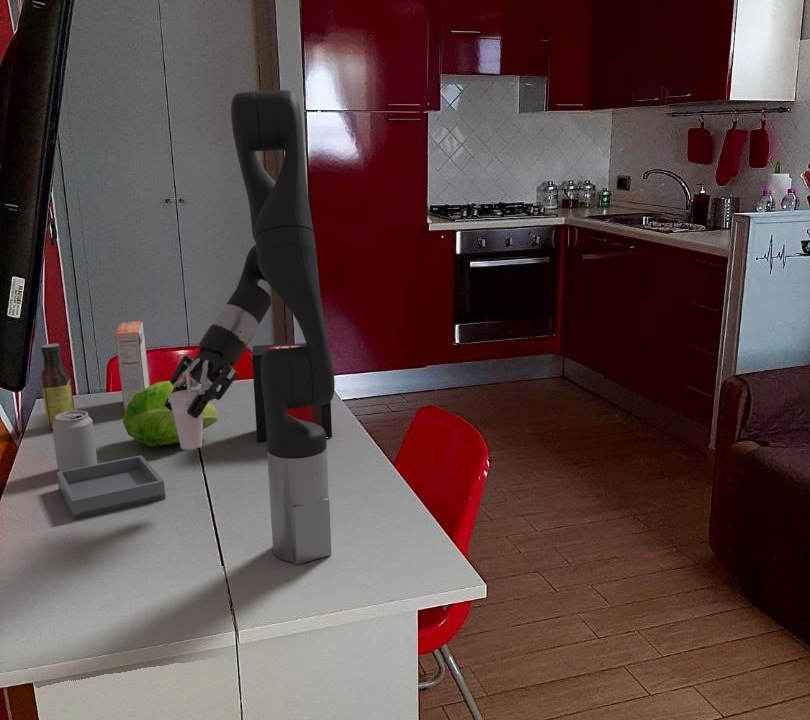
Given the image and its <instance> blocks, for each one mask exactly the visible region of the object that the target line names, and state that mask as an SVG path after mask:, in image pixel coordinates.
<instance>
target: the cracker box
mask: <svg viewBox="0 0 810 720" xmlns="http://www.w3.org/2000/svg"><path fill="white" fill-rule="evenodd" d="M116 330H117V331H116V333H115V335H114V337H115V344H116V351H117V352H116V353H117V354H116V355H117V361H118V368H119V378H120V387H121V395H122V403H123V410H124V411H123V412H124V413H123V414H125V411H126V407H127V405H128V404H129V403H130V401H131V400H132V398H133V397H134V396H135V394H136V393H137V392H139V391H141V390H143V389H145V388H147V387H149V386H151V385H150V378H149V369H148V368H149V367H148V358H147V350H146V340H145V331H144V322H143V321H140V320H139V321H126V322H125V321H123V322H121V323H119V326H118V327H117V329H116Z"/></svg>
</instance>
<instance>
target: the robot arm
mask: <svg viewBox="0 0 810 720" xmlns="http://www.w3.org/2000/svg"><path fill="white" fill-rule="evenodd" d="M230 117H231V127H232V129H231V130H232V132H233V133H232V134H233V139H234V144H235V150H236V153H237V154H236V155H237V159H238V162H239V168H240V171H241V172H240V173H241V176H242V179H243V183H244V187H245V191H246V194H247V199H248V204H249V212H250V221H251V230H252V231H251V232H252V238H253V240H254V242H255V245H253V246H252V247H251V248H250V249H249V251H248V252H247V255H246V258H245V262H244V266H243V270H242V272H241V275H240V277H239V281H238V283H237V287H236V289H235V290H234V292H233V293H232V294H231V296H230V298H229V299H228V301H227V303H226V304H225V305H224V307H223V308H222V309H221V310H220V311H219V313H218V314H217V315H216V317H215V318H214V319H213V321H212V322H211V324H210V326H209V328H208V329H207V330H206V332H205V334H204V335H203V337H202V338H201V340H200V341H199V343H198V347H199V353H198V354H197V355H196V356H195V357H194V358H190V356H188V355H187V354H185V355H183V357H182V358H181V360H180V362H179V363H178V365H177V367H176V369H175V370H174V372H173V374H172V376H171V378H170V379H169V381H170V383H172V384H173V386H174V389H173V391H172V392H171V393H173V392H177V391H181V390H188V389H187V378H186V370H189V375H190V386H191V389H193V388H197V387H198V386H199V385H200V389H199V390H200V395H197V396H196V398H195V399H194V401H193V402H192V404H191V406H190V407H189V409H188V410H187V413H188V414H189V415H190V416H192V417H193V418H198V417H199V415H200V414H201V413H202V411H203V410H204V408H205V407H206V405H207V403H208V402H209V403H210V402H212V401H213V400H217V401H219V400H221V399H222V398H223V396H224V395H225V393H226V392H227V391H228V390H229V388H230V387H231V386H232V383H234V381H235V380H236V379H237V376H238V375H239V372H237V371H236V370H235V369H234V368H233V367H235V366H236V364H237V363H238V361H239V359H240V358H241V356H242V355H243V353H244V351H245V350H246V349H247V347H248V345H249V343H250V342H251V340H252V339H253V337H254V335H255V333H256V331H257V328H258V327H259V325H260V324H261V322H262V320H263V319H264V317H265V316H266V314H267V313H268V311H269V309H270V307H271V305H272V297H271V295H270V294H269V293H268V292H267V291H266V290H265V289H263V288H262V287H261V286H260V285H258V284H259V282H260V280H262V281H265V282H267V284H268V285H269V286H270V287H271V289H272V290H273V291H274V292H275V294H276V295H277V296H278V297H279V298H280V299H281V300H282V302H283V303H284V304H285V305H286V306H287V308H288V310H290V312H291V313H292V315H293V317H294V318H295V320H296V322H297V323H298V325H299V328H300V330H301V332H302V335H303V337H304V341H305V343H306V346H303V347H290V348H278V349H270V350H267V351H265V352H264V354H263V356H262V359H261V383H262V391H263V399H264V408H265V419H266V435H267V442H266V453H267V467H268V469H267V470H268V472H267V473H268V485H269V486H268V487H269V503H270V504H269V506H270V522H271V523H270V524H271V537H272V552H273V554H274V555H275V557H276V558H279V560H282V561H287V562H291V563H293V564H295V565H297V566H298V565H301V564H304V563H307V562H310V561H314V560H318V559H321V558H325V557H329V556H331V555H332V532H331V510H330V509H331V508H330V497H329V495H330V493H329V476H328V475H329V473H328V470H329V469H328V447H327V445H328V444H327V439H328V438H326V433H325V430H324V429H323V428H322V427H321V426H319V425H317V424H314V423H311V422H307V421H303V420H299V419H296V418H294V417H292V416H290V415H288V414H287V413H286V410H287V409H288V408H297V407H307V406H316V405H324V404H328V403H329V402H332V400H333V398H334V395H335V386H336V385H335V383H336V382H335V381H336V380H335V373H334V372H335V371H334V364H333V360H332V359H333V358H332V353H331V347H330V344H329V338H328V337H329V336H328V332H327V327H326V323H325V317H324V311H323V305H322V298H321V288H320V279H319V278H320V277H319V268H318V256H317V247H316V238H315V231H314V226H313V220H312V219H313V218H312V214H311V206H310V200H309V193H308V186H307V175H306V160H305V145H304V131H303V120H302V111H301V106H300V102H299V99H298V97H297V95H296V94H295V93H294V92H293V91H291V90H285V89H284V90H283V89H279V90H256V91H245V92H243V91H242V92H238V93H236V94H235V95H234V96H233V97H232V100H231V106H230ZM279 150H280V151H281V150H283V151H284V157H283V162H282V165H281V169H280V171H279V174H278V177H277V179H276V181H275V180H274V179H273V178H272V177H271V176H270V175H269V173H268V172H267V171H266V170H265V169H266V168H264V167H263V165H262V164H261V162H260V160H259V158H258V156H257V152H265V151H266V152H267V151H268V152H269V151H279ZM179 377H180V378H179ZM184 385H185V386H184ZM219 386H221V387H220V389H219ZM168 400H169V399H168V398H167V400H166V402H165V404H164V406H165V407H166V408H168V409H169V410H171V411H172V407H171V403H169V402H168Z"/></svg>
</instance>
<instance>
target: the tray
mask: <svg viewBox="0 0 810 720" xmlns="http://www.w3.org/2000/svg"><path fill="white" fill-rule="evenodd" d="M56 479H57V487H58V490H59V493H60V494H61V497H62V498H63V500H64V502H65V505H66V506H67V509H68V510H69V512H70V514H71V516H72V518H73V519H74V520H79V519H83V518H87V517H92V516H96V515H100V514H105V513H108V512H115V511H118V509H119V510H122V508H123V509H127V508H131V506H132V507H135V505H136V506H140V504H141V505H144V504H149V503H153V501H154V502H157V500H158V501H162V500H166V491H165V490H166V489H165V488H166V487H165V481H164V480H163V478H162V477H161V476H160V475H159V474H158V472H157V471H156V470H155V469H154V468H153V467H152V465H151V464H150V463H149V462H148V461H147V460H146V458H145V457H144V456H143V455H142V454H141V455H135V456H130V457H126V458H121V459H116V460H111V461H106V462H100V463H97V464H94V465H89V466H84V467H79V468H74V469H69V470H64V471H56ZM126 507H127V508H126Z"/></svg>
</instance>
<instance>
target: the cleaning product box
mask: <svg viewBox="0 0 810 720" xmlns="http://www.w3.org/2000/svg"><path fill="white" fill-rule="evenodd" d="M303 346H306V342H305V343H304V342H303V343H286V344H285V343H284V344H282V343H281V344H267V345H266V344H263V345H259V344H258V345H253V346H252V350H251V351H252V353H251V363H252V375H253V378H252V379H253V392H254V393H253V395H254V410H255V413H254V414H255V424H256V425H255V427H256V440H257V441H256V443H257V444H259V443H267V435H266V419H265V408H264V399H263V391H262V383H261V359H262V356H263V354H264V352H265V351H267V350H270V349H278V348H290V347H303ZM331 402H332V401H331ZM331 402H329V403H328V404H324V405H316V406H307V407H297V408H288V409H287V410H286V413H287V414H288V415H290V416H292V417H294V418H296V419H299V420H303V421H307V422H311V423H314V424H317V425H319V426H321V427H322V428H323V429H324V430H325V433H326V437H332V438H333V430H332V429H333V428H332V425H333V424H332V423H333V422H332V403H331Z"/></svg>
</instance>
